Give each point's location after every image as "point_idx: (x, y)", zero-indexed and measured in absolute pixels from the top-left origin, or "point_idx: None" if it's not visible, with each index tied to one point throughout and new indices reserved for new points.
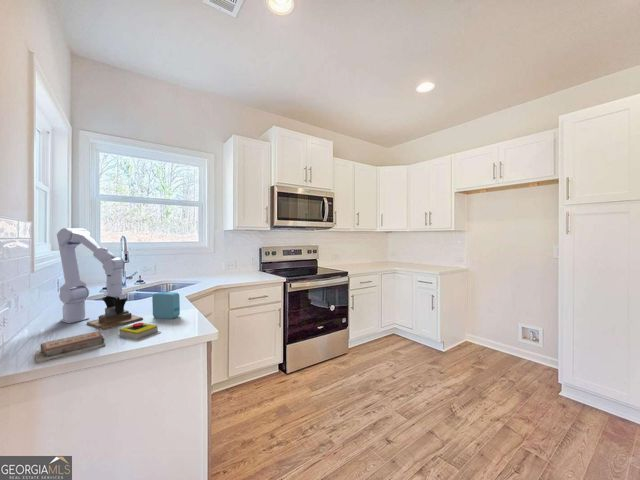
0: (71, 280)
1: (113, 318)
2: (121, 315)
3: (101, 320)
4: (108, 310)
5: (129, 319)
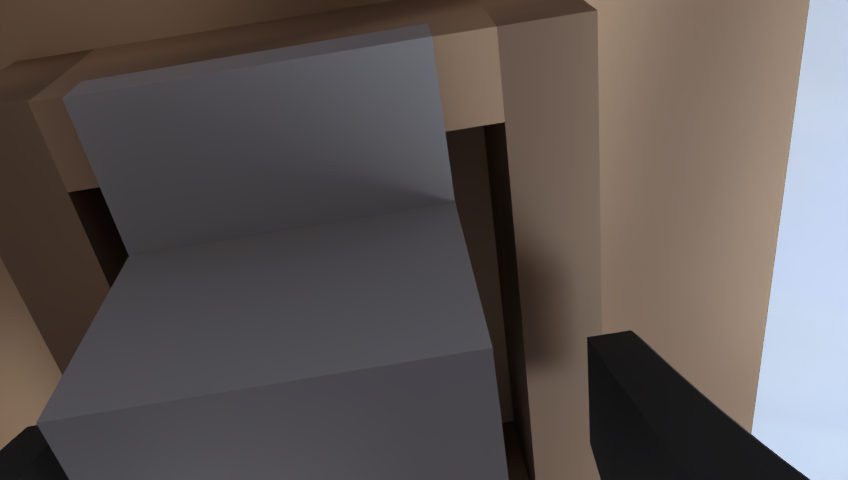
0: None
1: (32, 270)
2: None
3: (371, 17)
4: (148, 359)
5: None
